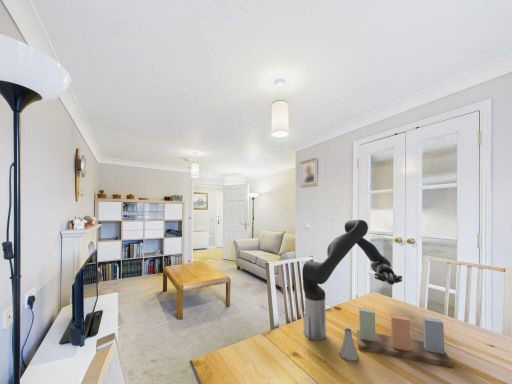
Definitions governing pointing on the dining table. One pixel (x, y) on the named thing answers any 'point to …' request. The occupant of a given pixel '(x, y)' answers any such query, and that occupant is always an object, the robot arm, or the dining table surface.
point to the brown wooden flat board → (415, 353)
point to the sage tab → (367, 324)
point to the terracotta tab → (400, 332)
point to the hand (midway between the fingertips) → (391, 282)
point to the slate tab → (433, 335)
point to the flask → (348, 347)
